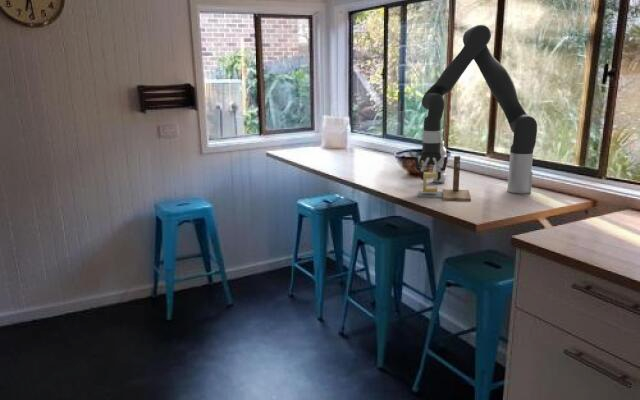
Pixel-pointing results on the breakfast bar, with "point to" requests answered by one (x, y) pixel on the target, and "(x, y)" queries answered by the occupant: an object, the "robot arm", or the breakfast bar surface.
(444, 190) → the stand
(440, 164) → the plastic bottle
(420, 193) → the mat
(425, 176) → the c link
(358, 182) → the breakfast bar surface
